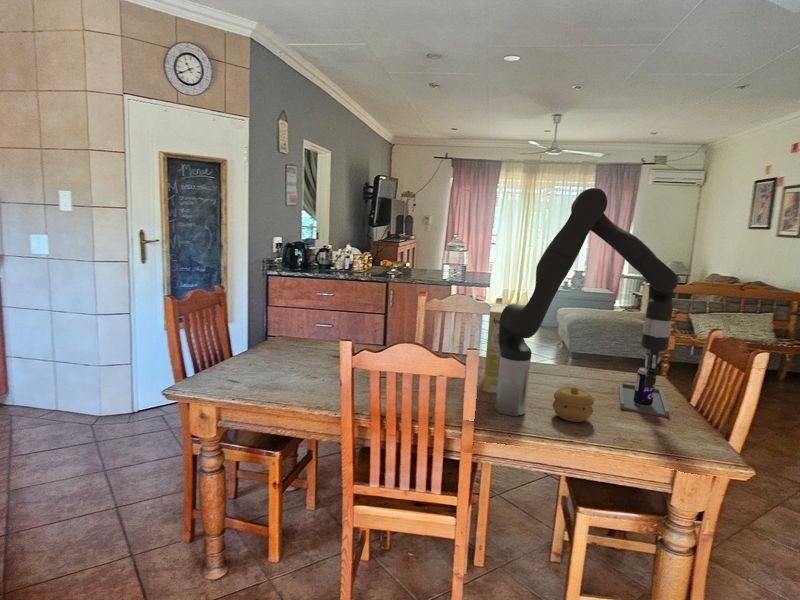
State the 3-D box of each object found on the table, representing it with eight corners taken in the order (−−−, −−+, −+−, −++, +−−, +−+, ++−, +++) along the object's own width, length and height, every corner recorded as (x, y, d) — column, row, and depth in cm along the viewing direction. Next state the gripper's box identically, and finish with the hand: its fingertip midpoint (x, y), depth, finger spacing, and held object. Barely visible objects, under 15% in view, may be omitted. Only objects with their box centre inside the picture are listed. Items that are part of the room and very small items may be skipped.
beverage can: (641, 408, 164) (646, 372, 162) (629, 402, 169) (634, 367, 167) (655, 407, 165) (661, 372, 163) (643, 401, 171) (648, 367, 169)
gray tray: (668, 417, 159) (669, 411, 159) (619, 408, 164) (620, 403, 164) (660, 394, 181) (661, 389, 181) (618, 387, 186) (619, 382, 186)
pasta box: (486, 375, 192) (492, 303, 187) (514, 379, 189) (521, 305, 185) (483, 391, 174) (489, 311, 169) (514, 395, 172) (522, 314, 167)
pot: (598, 419, 154) (602, 388, 153) (581, 430, 146) (585, 397, 144) (561, 408, 162) (565, 378, 160) (544, 417, 154) (547, 386, 152)
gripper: (641, 327, 162) (634, 379, 165) (644, 335, 150) (636, 391, 153) (667, 330, 159) (659, 383, 162) (672, 339, 147) (663, 396, 150)
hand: (648, 387), depth 158 cm, fingers closed
